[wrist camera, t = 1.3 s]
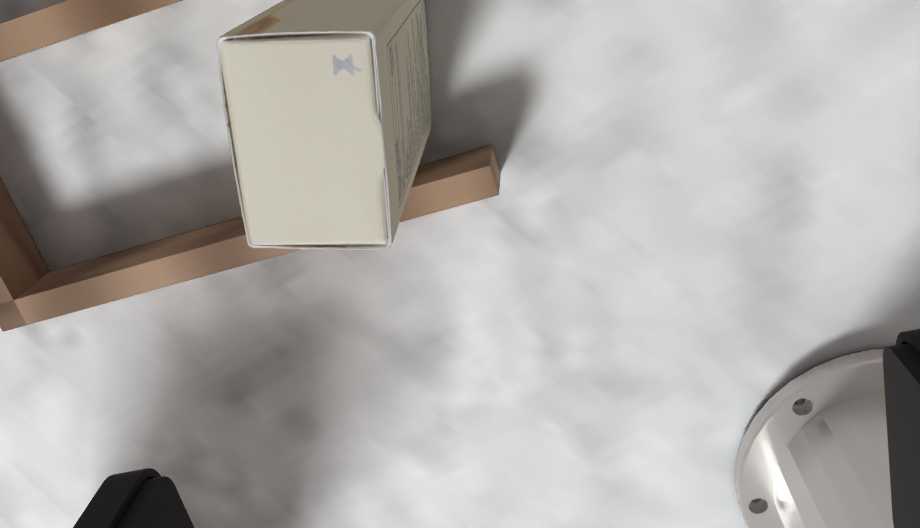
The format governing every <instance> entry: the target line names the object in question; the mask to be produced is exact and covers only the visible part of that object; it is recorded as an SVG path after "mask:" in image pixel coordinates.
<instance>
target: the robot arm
mask: <svg viewBox="0 0 920 528" xmlns="http://www.w3.org/2000/svg"><path fill="white" fill-rule="evenodd" d="M734 483H735V489H736V495H737V501H738V504H739V507H740V510H741V512H742V515H743V518H744V521H745V524H746V525H747V527H748V528H920V329H917V330H911V331H906V332H901V333H900V334H899V335H898V337H897V341H896V346H890V347H886V348H885V349H873V350H866V351H862V352H858V353H853V354H849V355H844V356H841V357H838V358H836V359H833V360H831V361H828V362H825V363H823V364H820V365H818V366H815V367H813V368H812V369H810V370H808V371H807V372H805V373H803V374H802V375H800V376H798V377H797V378H795V379H793V380H792V381H790V382H789V383H788V384H786V385H785V386H784V387H783V388H782V389H781V390H779V391H778V392H777V393H776V394H775V395H773V396H772V397H771V398H770V399H769V400H768V401H767V403H766V404H765V405H764V406H763V407H762V409H761V410H760V411H759V412H758V413H757V415H756V416H755V417H754V418H753V420H752V422H751V424H750V426H749V427H748V429H747V431H746V433H745V435H744V436H743V438H742V441H741V444H740V448H739V451H738V454H737V458H736V463H735V478H734ZM73 528H194V526H193V524H192V522H191V520H190V518H189V515H188V513H187V511H186V509H185V507H184V505H183V502H182V500H181V498H180V496H179V494H178V491H177V489H176V487H175V485H174V483H173V482H172V480H171V479H170V478H168V477H165V476H163V477H161V476H160V474H159V473H158V472H157V471H156V470H154V469H151V468H148V469H142V470H137V471H131V472H126V473H120V474H115V475H111V476H109V477H108V478H107V479H106V480H105V481H104V482H103V483H102V485H101V486H100V488H99V489H98V491H97V492H96V494H95V495H94V497H93V498H92V500H91V501H90V503H89V504H88V506H87V507H86V509H85V510H84V512H83V513H82V515H81V516H80V518H79V519H78V521H77V522H76V524H75V525H74V527H73Z"/></svg>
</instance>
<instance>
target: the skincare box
mask: <svg viewBox="0 0 920 528" xmlns="http://www.w3.org/2000/svg"><path fill="white" fill-rule="evenodd" d="M217 51H218V64H219V72H220V82H221V89H222V98H223V106H224V112H225V119H226V126H227V131H228V138H229V144H230V150H231V156H232V162H233V168H234V174H235V180H236V185H237V191H238V197H239V202H240V206H241V212H242V217H243V222H244V227H245V232H246V237H247V243H248V245H249V246H250V247H252V248H280V249H310V250H311V249H317V250H320V249H329V250H384V249H387V248H389V247H390V245H391V244H392V242H393V239H394V236H395V233H396V230H397V227H398V224H399V221H400V218H401V215H402V212H403V209H404V206H405V204H406V201H407V198H408V195H409V192H410V189H411V186H412V183H413V180H414V177H415V175H416V172H417V169H418V166H419V163H420V160H421V157H422V154H423V151H424V148H425V145H426V142H427V140H428V137H429V134H430V131H431V94H430V72H429V56H428V40H427V26H426V14H425V3H424V0H284V1H282V2H281V3H278V4H277V5H275V6H273V7H271V8H270V9H268V10H266V11H264V12H262V13H260V14H259V15H257V16H255V17H254V18H252V19H250V20H248V21H246V22H245V23H243V24H241V25H239V26H238V27H236V28H234V29H232V30H231V31H229V32H227V33H225V34H224V35H222V36H220V37H219V39H218V40H217Z"/></svg>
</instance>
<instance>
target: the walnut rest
mask: <svg viewBox="0 0 920 528" xmlns="http://www.w3.org/2000/svg"><path fill="white" fill-rule="evenodd" d="M179 1H182V0H67V1H65V2H62V3H59V4H56V5H53V6H50V7H47V8H44V9H42V10H39V11H36V12H33V13H30V14H27V15H24V16H21V17H19V18H16V19H13V20H10V21H7V22H4V23H1V24H0V62H2V61H5V60H8V59H10V58H13V57H16V56H19V55H22V54H25V53H28V52H31V51H34V50H37V49H40V48H43V47H46V46H49V45H52V44H55V43H58V42H61V41H64V40H67V39H69V38H72V37H75V36H78V35H81V34H84V33H87V32H90V31H93V30H96V29H99V28H102V27H105V26H108V25H111V24H114V23H117V22H120V21H123V20H125V19H128V18H131V17H134V16H137V15H140V14H143V13H146V12H149V11H152V10H155V9H158V8H161V7H164V6H167V5H170V4H173V3H176V2H179ZM500 175H501V171H500V168H499V165H498V161H497V158H496V155H495V152H494V148H493V145H490V146H487V147H483V148H480V149H476V150H473V151H469V152H466V153H462V154H459V155H455V156H452V157H448V158H445V159H441V160H438V161H434V162H431V163H427V164H424V165H420V166H418V169H417V172H416V175H415V177H414V180H413V183H412V186H411V189H410V192H409V195H408V198H407V201H406V204H405V206H404V209H403V212H402V215H401V218H400V221H399V222H402V221H406V220H409V219H413V218H417V217H420V216H424V215H427V214H431V213H435V212H438V211H442V210H446V209H449V208H453V207H457V206H460V205H464V204H467V203H471V202H475V201H478V200H482V199H486V198H489V197H493V196H496V195H499V187H500ZM297 250H301V249H280V248H252V247H250V246H249V245H248V243H247V237H246V232H245V227H244V222H243V217H239V218H235V219H232V220H228V221H225V222H221V223H218V224H214V225H211V226H207V227H204V228H201V229H197V230H194V231H190V232H187V233H183V234H180V235H176V236H173V237H169V238H166V239H162V240H159V241H155V242H152V243H148V244H145V245H141V246H138V247H134V248H131V249H127V250H124V251H120V252H117V253H113V254H110V255H106V256H103V257H99V258H96V259H92V260H89V261H85V262H82V263H78V264H75V265H71V266H68V267H64V268H61V269H57V270H54V271H51V272H49V270H48V268H47V266H46V264H45V262H44V260H43V258H42V257H41V255H40V253H39V251H38V249H37V247H36V245H35V243H34V241H33V239H32V238H31V236H30V234H29V232H28V230H27V228H26V226H25V224H24V222H23V220H22V218H21V217H20V215H19V213H18V211H17V209H16V207H15V205H14V203H13V201H12V199H11V198H10V196H9V194H8V192H7V190H6V188H5V186H4V184H3V182H2V180H1V179H0V327H1V329H2V331H7V330H10V329H14V328H18V327H21V326H25V325H29V324H32V323H36V322H39V321H43V320H47V319H50V318H54V317H58V316H61V315H65V314H68V313H72V312H76V311H79V310H83V309H87V308H90V307H94V306H98V305H101V304H105V303H108V302H112V301H116V300H119V299H123V298H127V297H130V296H134V295H137V294H141V293H145V292H148V291H152V290H156V289H159V288H163V287H166V286H170V285H174V284H177V283H181V282H185V281H188V280H192V279H195V278H199V277H203V276H206V275H210V274H214V273H217V272H221V271H224V270H228V269H232V268H235V267H239V266H243V265H246V264H250V263H253V262H257V261H261V260H264V259H268V258H272V257H275V256H279V255H282V254H286V253H290V252H293V251H297Z"/></svg>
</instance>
